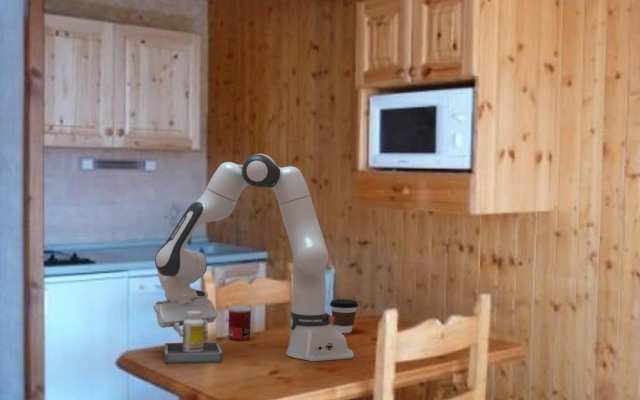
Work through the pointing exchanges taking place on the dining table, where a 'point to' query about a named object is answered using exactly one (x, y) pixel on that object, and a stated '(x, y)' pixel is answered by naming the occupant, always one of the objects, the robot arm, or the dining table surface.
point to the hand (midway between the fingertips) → (194, 334)
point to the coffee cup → (343, 314)
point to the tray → (192, 354)
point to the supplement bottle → (193, 332)
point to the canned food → (239, 323)
